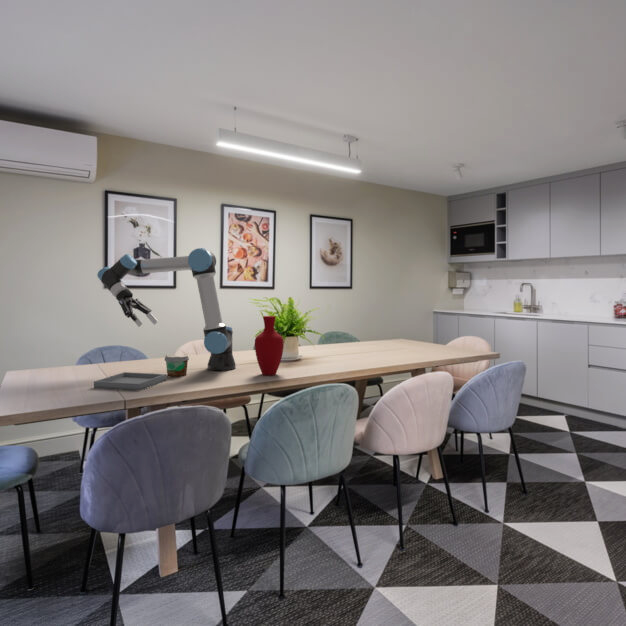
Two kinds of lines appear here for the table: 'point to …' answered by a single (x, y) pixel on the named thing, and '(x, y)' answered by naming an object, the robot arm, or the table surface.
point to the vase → (269, 347)
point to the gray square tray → (130, 381)
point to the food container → (176, 366)
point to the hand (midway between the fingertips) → (148, 324)
